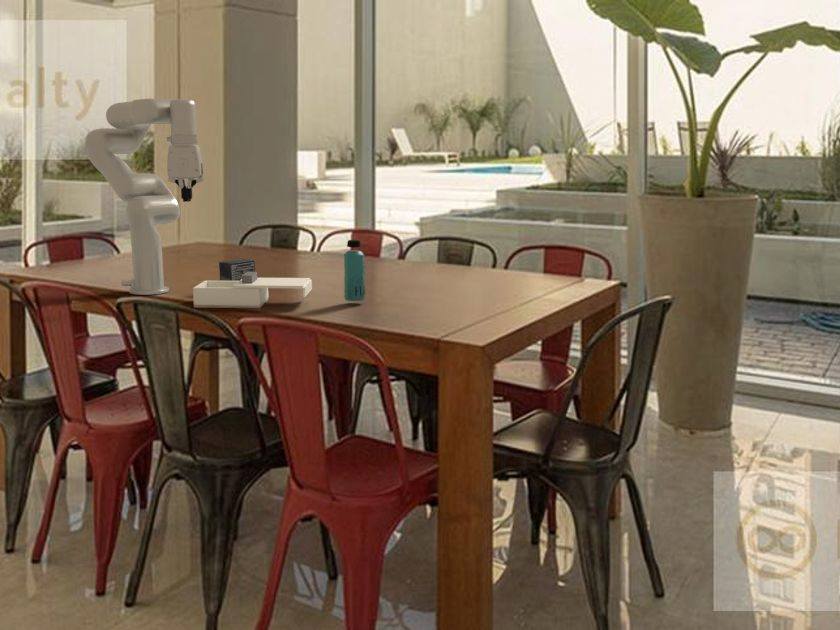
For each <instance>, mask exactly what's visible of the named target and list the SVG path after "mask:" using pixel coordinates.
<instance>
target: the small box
mask: <svg viewBox="0 0 840 630" xmlns="http://www.w3.org/2000/svg"><path fill="white" fill-rule="evenodd" d="M218 264H219V265H218V266H219V281H240V280H241V279H242V275H243V274H245V273H246V272H256V265H255V264H256V263H255V259H250V258H249V259H248V258H240V259H232V260H231V259H230V260H224V261H219V262H218Z"/></svg>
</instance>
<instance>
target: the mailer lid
mask: <svg viewBox="0 0 840 630" xmlns="http://www.w3.org/2000/svg"><path fill="white" fill-rule="evenodd" d="M233 288H268V289H302V298H306V297H307V296H308V294H309V293H310V292H311V291H312V290H313V280H312V279H311V278H310V277H258V272H257V271H255V272H246V273H245V274H243V275H242V279H241V280H240V281H238V282H237V283H235V284H234V285H233Z"/></svg>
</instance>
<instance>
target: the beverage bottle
mask: <svg viewBox="0 0 840 630" xmlns="http://www.w3.org/2000/svg"><path fill="white" fill-rule="evenodd" d="M346 243H347V244H346V247H347V248H360V247H361V246H362V245H361V240H360V239H348V240H347V242H346ZM343 257H344V259H343V260H344V261H343V262H344V263H343V264H344V267H343V270H344V279H343V281H344V290H343V291H344V292H343V293H344V294H343V295H344V300H345V301H349V302H360V301H364V300H365V298H366V284H365V282H366V281H365V273H366V272H365V268H366V265H365V254H364V252H363V251H361V250H357V249H354V250H353V249H351V250H347V251H345V252H344V254H343Z"/></svg>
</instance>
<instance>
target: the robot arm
mask: <svg viewBox="0 0 840 630" xmlns="http://www.w3.org/2000/svg"><path fill="white" fill-rule="evenodd" d="M196 110H197V109H196V102H195V101H194V100H192V99H188V98H187V99H185V98H184V99H183V98H181V99H180V98H179V99H171V98H170V99H169V98H140V99H133V100H131V101H124V102H123V101H121V102H116V103H113V104H112V105H110V106H109V107H108V108H107V110H106V113H105V119H106V121H107V123H108V124H109V125H110V126H111V127H112V128H110V127H109V128H108V127H107V128H97V129H93V130H91V131H89V132H88V134H87V135H86V136H85V140H84V141H85V142H84V144H85V150H86V154H87V157H88V159H89V161H90V163H92V165H93V166H94V167H95V168H96V170H97V171H99V172H100V173H101V175H102V176H103V177H104V178H105V180H106V181H107V183H108V184H109V185H110V187H111V188H112V190H113V191H114V192H115V194H116V196H117V197H118V198H119V200H121V201H123V202H124V203H127V204H126V206H125V213H126V217H127V221H128V226H129V233H130V242H131V243H130V246H131V254H132V255H131V257H132V260H131V261H132V277H133V278H131V279H122V280H121V287H130V288H129V289H128V290H129V292H128V293H129V294H131V295H137V296H142V295H143V296H149V295H160V294H165V293H168V292H169V291H170V288H169V286H165V283H164V282H165V281H164V280H165V279H164V267H163V266H164V264H163V263H164V261H163V248H162V247H163V246H162V237H161V234H160V232H159V231H158V229H157V228H156V227H155V226H157V225H166V224H167V225H168V224H173V223H175V222H176V221H177V220H178V219H179V218H180V216H181V207H180V203H179V202H178V200H177V198H176V197H175V196H174V194H173V193H172V191H171V190H170V189H169V187H168V186H167V184H166V182H165V181H164V180H163V179H162V178H161V177H160V176H158V175H156V174H155V173H147V172H146V173H137V172H134V171H133V170H132V169H131V168H130V166H129V165H128V164H127V163H126V161H124V160H123V159H122V158H121V157H119V156H117V155H130V154H134V153H136V152H137V151H139V148H140V147H141V145H142V144H143V141H144V139H145V138H146V136H147V134H148V132H149V130H150V128H151V125H170V136H167V137H166V141H167V142H170V143H171V145H168V150H167V163H166V164H167V166H166V169H167V170H166V171H167V177H168V178H167V179H168V182H169V183H174V184H176V185H177V186H178V187H179V189H180V197H181V200H182V202H186V203H187V202H191V201H192V199H193V188H194V187H195V186H196V185H197V184H200V183H203V182H204V180H205V179H204V166H203V165H204V164H203V157H202V152H201V148H200V145H198V137H197V135H198V133H197V131H198V130H197V115H196V114H197V111H196ZM185 179H187V183H186V180H185Z"/></svg>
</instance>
